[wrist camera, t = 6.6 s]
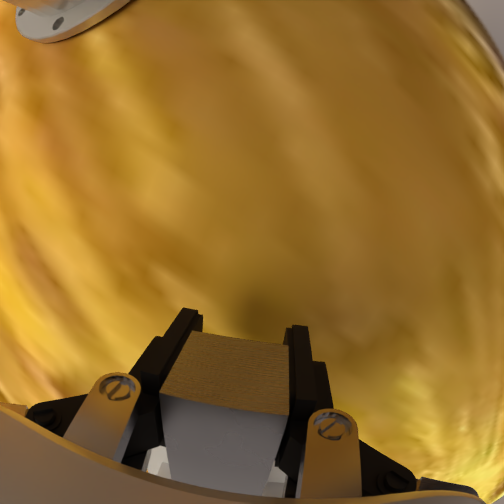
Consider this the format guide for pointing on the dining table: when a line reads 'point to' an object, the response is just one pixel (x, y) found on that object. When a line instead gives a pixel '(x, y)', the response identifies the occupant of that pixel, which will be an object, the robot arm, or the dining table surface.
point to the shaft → (225, 412)
